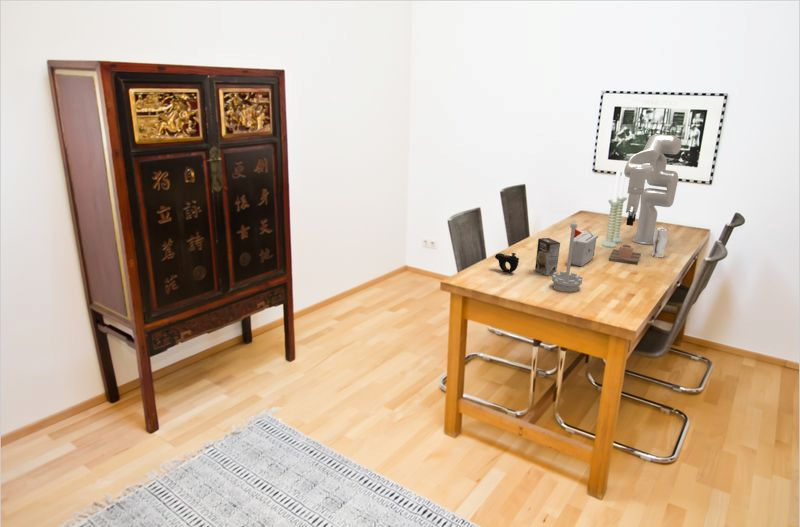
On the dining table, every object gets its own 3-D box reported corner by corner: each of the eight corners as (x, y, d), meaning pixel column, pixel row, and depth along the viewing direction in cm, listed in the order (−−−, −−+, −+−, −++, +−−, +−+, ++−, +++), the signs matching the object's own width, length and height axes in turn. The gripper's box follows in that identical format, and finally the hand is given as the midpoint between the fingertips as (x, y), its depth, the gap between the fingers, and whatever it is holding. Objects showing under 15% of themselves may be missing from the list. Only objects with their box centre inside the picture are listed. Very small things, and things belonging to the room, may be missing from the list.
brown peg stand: (613, 251, 304) (615, 238, 301) (640, 256, 298) (642, 242, 295) (608, 260, 288) (610, 246, 286) (637, 264, 282) (639, 250, 280)
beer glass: (665, 258, 294) (670, 231, 290) (651, 257, 296) (656, 230, 291) (662, 254, 301) (667, 227, 296) (649, 253, 302) (653, 227, 298)
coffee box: (534, 270, 270) (537, 238, 265) (545, 268, 273) (548, 237, 268) (545, 276, 262) (549, 243, 257) (556, 274, 265) (560, 242, 260)
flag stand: (563, 294, 240) (572, 227, 231) (545, 284, 251) (552, 220, 242) (587, 290, 245) (596, 224, 236) (568, 281, 256) (576, 217, 247)
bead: (619, 253, 296) (621, 244, 295) (631, 254, 294) (633, 245, 292) (618, 256, 291) (619, 246, 290) (630, 257, 289) (632, 248, 287)
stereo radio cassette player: (580, 255, 296) (585, 218, 290) (595, 258, 292) (600, 221, 286) (566, 264, 280) (571, 226, 274) (583, 268, 276) (588, 229, 269)
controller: (514, 275, 262) (516, 255, 258) (492, 269, 270) (494, 249, 267) (519, 273, 264) (521, 253, 261) (497, 267, 273) (499, 248, 270)
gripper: (629, 187, 292) (624, 218, 297) (625, 193, 277) (620, 226, 282) (644, 188, 288) (639, 220, 294) (641, 194, 274) (636, 228, 279)
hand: (630, 223), depth 288 cm, fingers open, 9 cm apart
